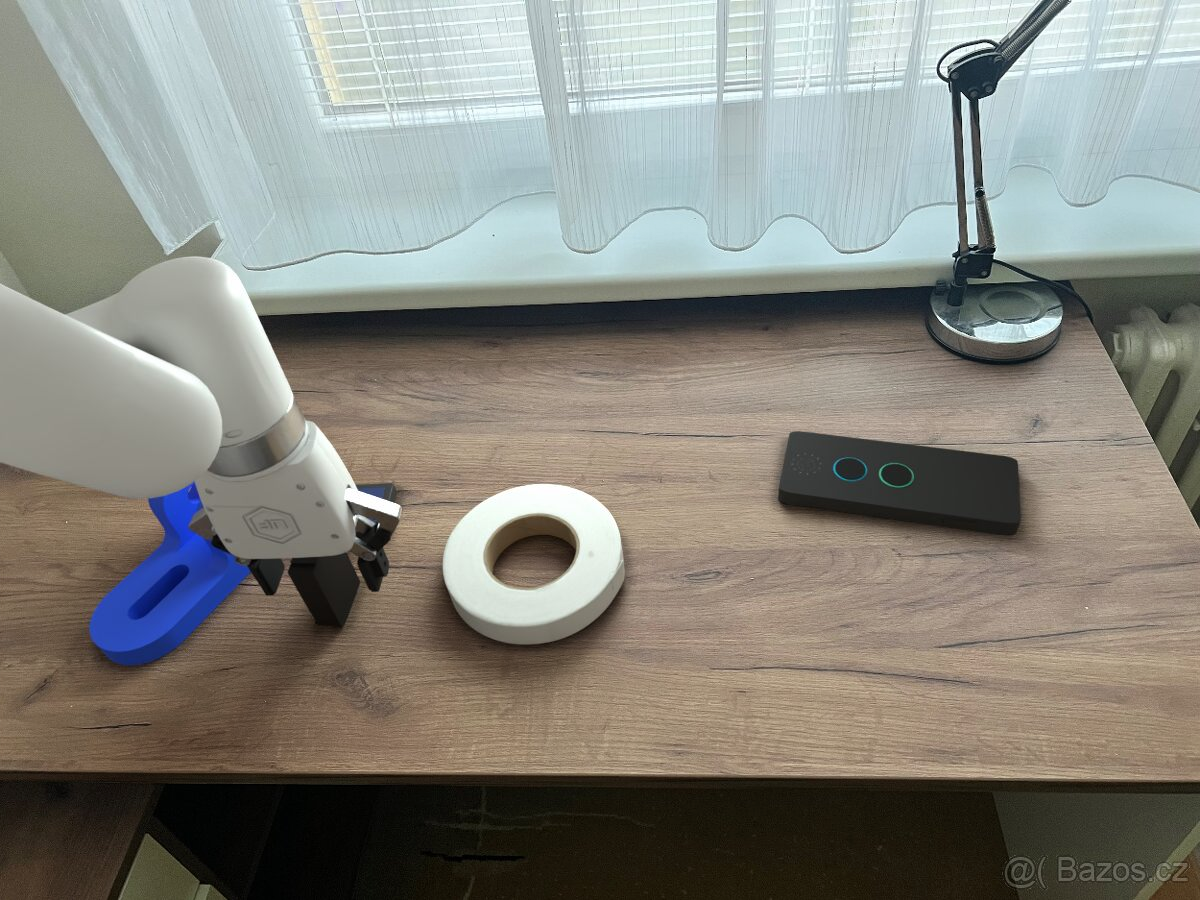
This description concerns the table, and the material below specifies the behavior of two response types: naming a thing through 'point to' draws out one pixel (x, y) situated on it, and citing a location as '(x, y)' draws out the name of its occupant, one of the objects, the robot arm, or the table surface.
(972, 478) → the smart home device
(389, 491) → the ink pad
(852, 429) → the table surface
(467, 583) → the tape roll
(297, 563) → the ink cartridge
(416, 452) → the table surface
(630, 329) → the table surface
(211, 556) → the bracket
